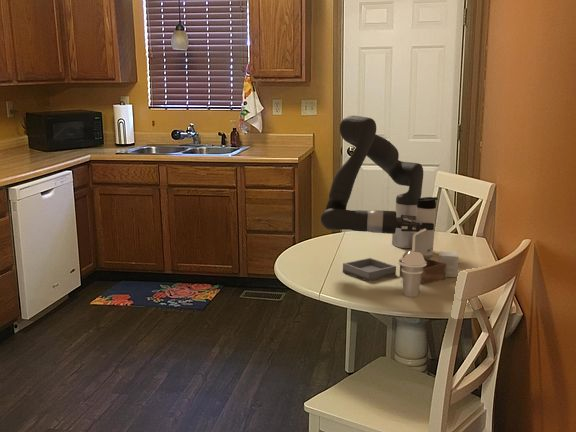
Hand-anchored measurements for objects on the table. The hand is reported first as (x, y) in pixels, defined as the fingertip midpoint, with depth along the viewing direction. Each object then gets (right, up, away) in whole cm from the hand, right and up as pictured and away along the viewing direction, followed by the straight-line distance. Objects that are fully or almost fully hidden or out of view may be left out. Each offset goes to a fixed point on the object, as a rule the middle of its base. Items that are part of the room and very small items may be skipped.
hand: (432, 224), depth 205 cm
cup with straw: (-10, -21, -13) cm, 27 cm away
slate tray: (-20, -17, +7) cm, 27 cm away
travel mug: (-3, -11, +3) cm, 11 cm away
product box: (+7, -17, +8) cm, 20 cm away
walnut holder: (-3, -18, +4) cm, 18 cm away
